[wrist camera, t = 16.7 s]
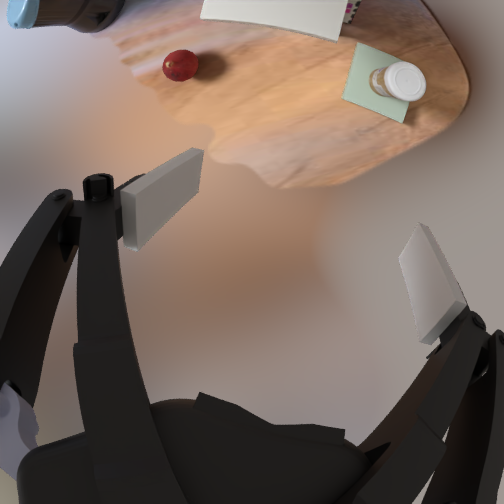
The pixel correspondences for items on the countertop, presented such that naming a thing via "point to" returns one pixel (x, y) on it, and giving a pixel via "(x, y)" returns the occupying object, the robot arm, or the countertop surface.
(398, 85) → the sprinkles bottle
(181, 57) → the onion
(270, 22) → the white t-shaped stand
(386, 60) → the pedestal
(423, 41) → the countertop surface
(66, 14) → the robot arm
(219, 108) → the countertop surface
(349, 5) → the candy bar box
